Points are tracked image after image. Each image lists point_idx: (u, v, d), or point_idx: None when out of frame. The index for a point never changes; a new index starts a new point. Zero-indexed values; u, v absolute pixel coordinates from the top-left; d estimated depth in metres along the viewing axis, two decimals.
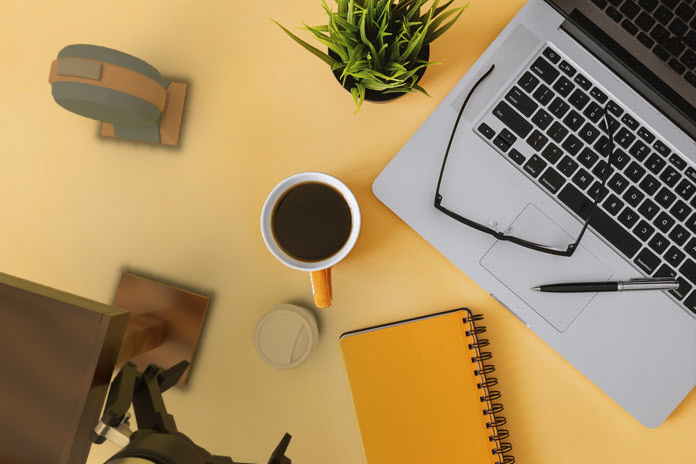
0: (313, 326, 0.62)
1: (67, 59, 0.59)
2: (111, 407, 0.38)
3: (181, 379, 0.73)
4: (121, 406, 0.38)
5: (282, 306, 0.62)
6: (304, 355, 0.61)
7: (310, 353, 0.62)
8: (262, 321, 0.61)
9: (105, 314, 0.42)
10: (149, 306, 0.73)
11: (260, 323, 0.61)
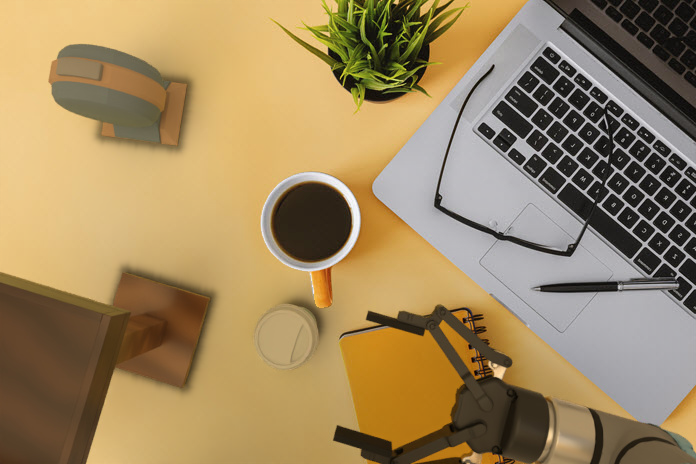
0: (313, 326, 0.62)
1: (67, 59, 0.59)
2: (499, 352, 0.54)
3: (181, 379, 0.73)
4: None
5: (282, 306, 0.62)
6: (304, 355, 0.61)
7: (310, 353, 0.62)
8: (262, 321, 0.61)
9: (105, 314, 0.42)
10: (149, 306, 0.73)
11: (260, 323, 0.61)
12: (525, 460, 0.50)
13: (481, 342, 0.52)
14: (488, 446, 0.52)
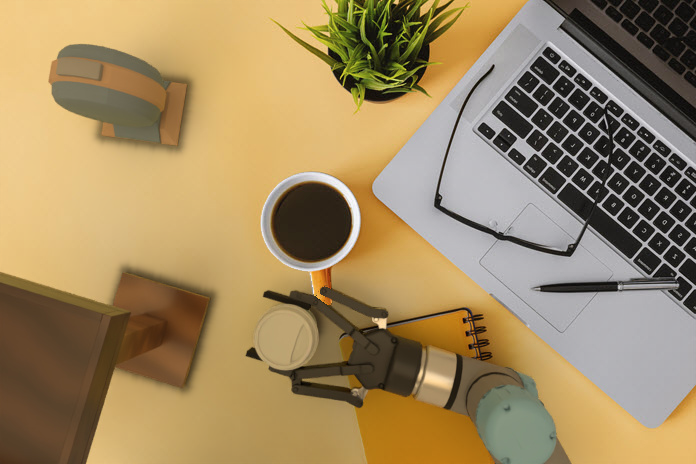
0: (313, 326, 0.62)
1: (67, 59, 0.59)
2: (380, 308, 0.67)
3: (181, 379, 0.73)
4: None
5: (282, 306, 0.62)
6: (304, 355, 0.61)
7: (310, 353, 0.62)
8: (262, 321, 0.61)
9: (105, 314, 0.42)
10: (149, 306, 0.73)
11: (260, 323, 0.61)
12: (402, 393, 0.63)
13: (360, 305, 0.65)
14: (375, 383, 0.65)
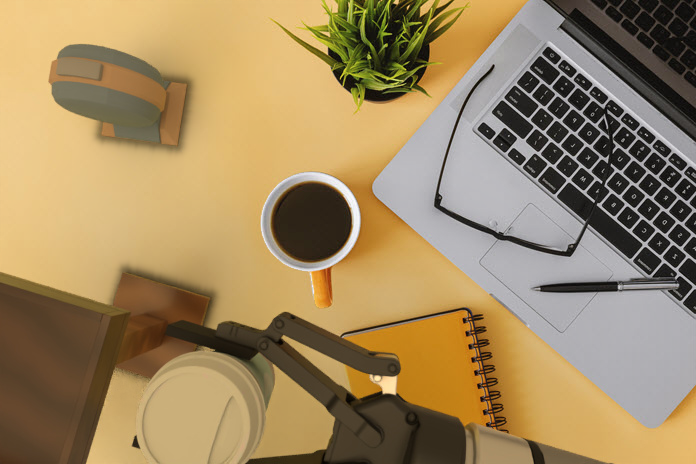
0: (254, 397, 0.32)
1: (67, 59, 0.59)
2: None
3: None
4: None
5: (194, 357, 0.32)
6: (234, 458, 0.30)
7: (248, 452, 0.31)
8: (151, 388, 0.31)
9: (105, 314, 0.42)
10: (149, 306, 0.73)
11: (147, 392, 0.31)
12: None
13: (348, 351, 0.34)
14: None
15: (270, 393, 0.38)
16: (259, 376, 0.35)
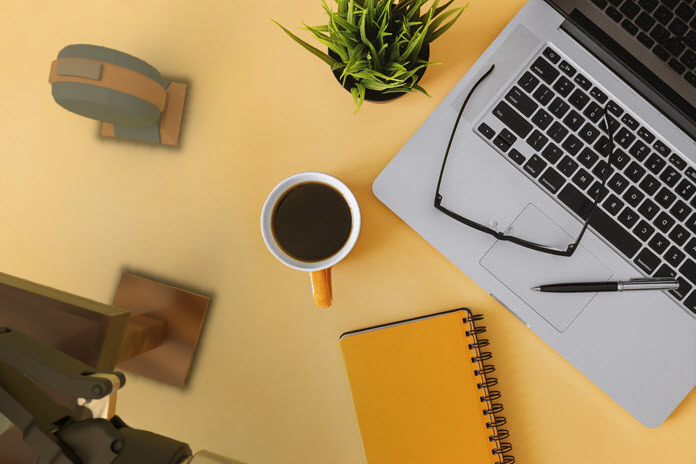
0: None
1: (67, 59, 0.59)
2: None
3: (181, 379, 0.73)
4: None
5: None
6: None
7: None
8: None
9: (105, 314, 0.42)
10: (149, 306, 0.73)
11: None
12: None
13: (50, 370, 0.31)
14: None
15: None
16: None
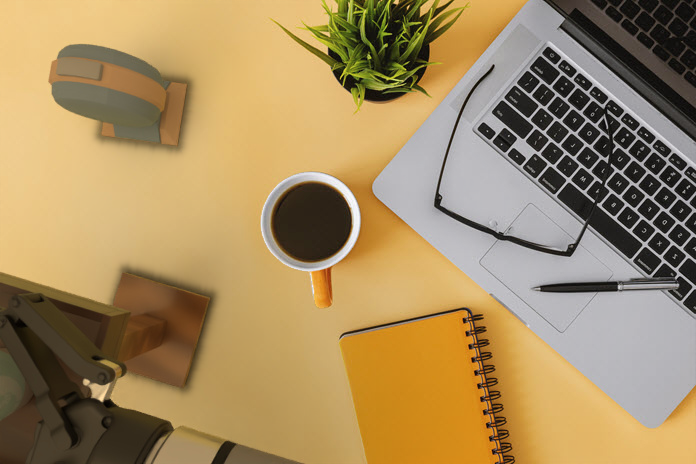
0: None
1: (67, 59, 0.59)
2: None
3: (181, 379, 0.73)
4: None
5: None
6: None
7: None
8: None
9: (105, 314, 0.42)
10: (149, 306, 0.73)
11: None
12: None
13: (68, 348, 0.36)
14: None
15: (7, 395, 0.40)
16: None
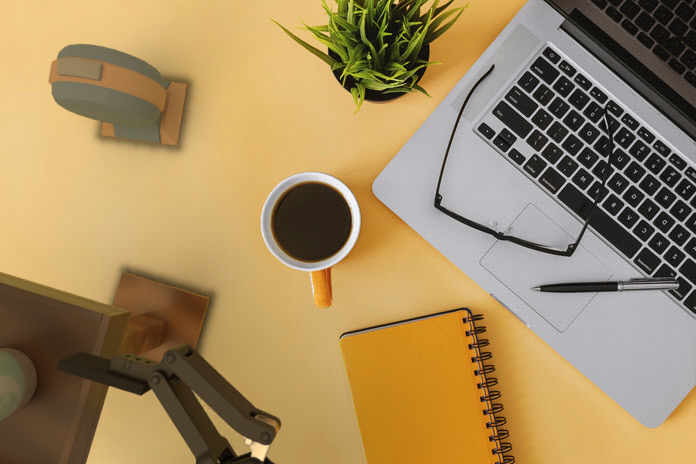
0: None
1: (67, 59, 0.59)
2: (270, 415, 0.36)
3: None
4: None
5: None
6: None
7: None
8: None
9: (105, 314, 0.42)
10: (149, 306, 0.73)
11: None
12: None
13: (228, 405, 0.34)
14: None
15: (7, 395, 0.40)
16: None
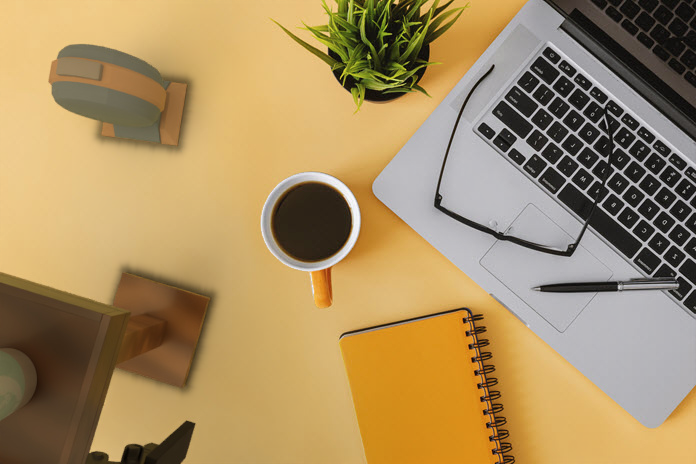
0: None
1: (67, 59, 0.59)
2: None
3: (181, 379, 0.73)
4: None
5: None
6: None
7: None
8: None
9: (105, 314, 0.42)
10: (149, 306, 0.73)
11: None
12: None
13: None
14: None
15: (7, 395, 0.40)
16: None
